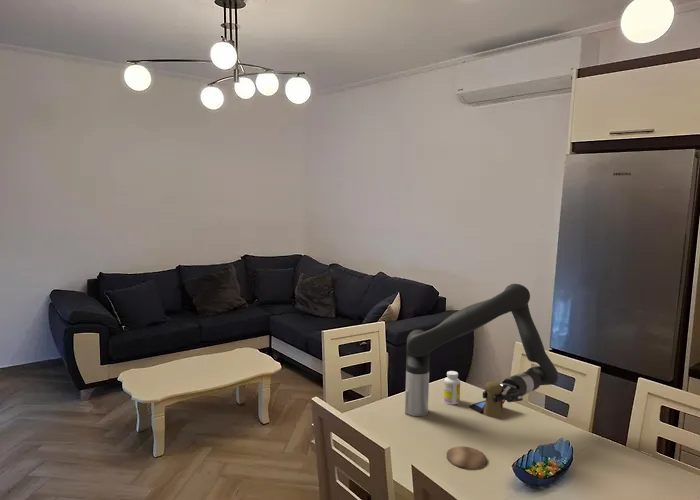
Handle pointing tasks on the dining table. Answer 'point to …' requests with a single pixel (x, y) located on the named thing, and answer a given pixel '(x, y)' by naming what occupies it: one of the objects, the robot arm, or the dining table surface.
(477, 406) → the handheld game console
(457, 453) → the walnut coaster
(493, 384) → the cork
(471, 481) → the dining table surface
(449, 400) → the supplement bottle
